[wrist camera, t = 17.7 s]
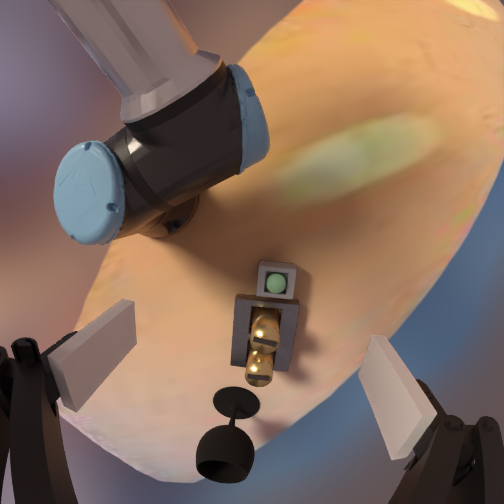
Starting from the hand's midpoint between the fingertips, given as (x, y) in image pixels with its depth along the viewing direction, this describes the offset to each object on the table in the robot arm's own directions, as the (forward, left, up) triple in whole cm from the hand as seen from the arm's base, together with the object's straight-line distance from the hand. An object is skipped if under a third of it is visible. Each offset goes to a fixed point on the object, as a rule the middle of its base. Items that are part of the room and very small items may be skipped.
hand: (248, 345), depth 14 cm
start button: (+2, -5, -31) cm, 31 cm away
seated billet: (+1, -13, -33) cm, 36 cm away
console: (+2, -5, -33) cm, 34 cm away
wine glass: (-3, -36, -34) cm, 49 cm away
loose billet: (+1, -20, -33) cm, 39 cm away
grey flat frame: (+1, -16, -33) cm, 37 cm away
